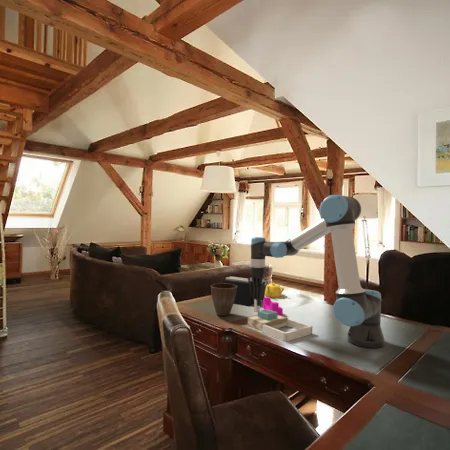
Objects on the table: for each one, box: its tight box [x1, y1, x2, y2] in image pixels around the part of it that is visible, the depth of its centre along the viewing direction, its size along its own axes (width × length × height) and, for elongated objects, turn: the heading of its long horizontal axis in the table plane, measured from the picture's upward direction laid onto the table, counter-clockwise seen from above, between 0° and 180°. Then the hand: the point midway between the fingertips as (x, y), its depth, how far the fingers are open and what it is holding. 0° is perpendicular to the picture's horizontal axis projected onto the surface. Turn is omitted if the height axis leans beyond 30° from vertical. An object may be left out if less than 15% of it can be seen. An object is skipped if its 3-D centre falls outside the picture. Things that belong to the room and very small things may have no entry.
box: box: [261, 318, 313, 343], centre depth 154 cm, size 15×18×4 cm
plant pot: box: [210, 282, 237, 317], centre depth 184 cm, size 15×15×16 cm
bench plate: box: [247, 314, 288, 332], centre depth 164 cm, size 12×16×4 cm
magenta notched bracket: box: [262, 297, 284, 316], centre depth 188 cm, size 15×6×8 cm, turn 12°
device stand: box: [222, 276, 265, 307], centre depth 215 cm, size 22×22×15 cm
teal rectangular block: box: [257, 309, 278, 321], centre depth 164 cm, size 7×7×3 cm
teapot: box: [264, 282, 285, 299], centre depth 225 cm, size 14×13×10 cm
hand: (257, 311), depth 170 cm, fingers closed
